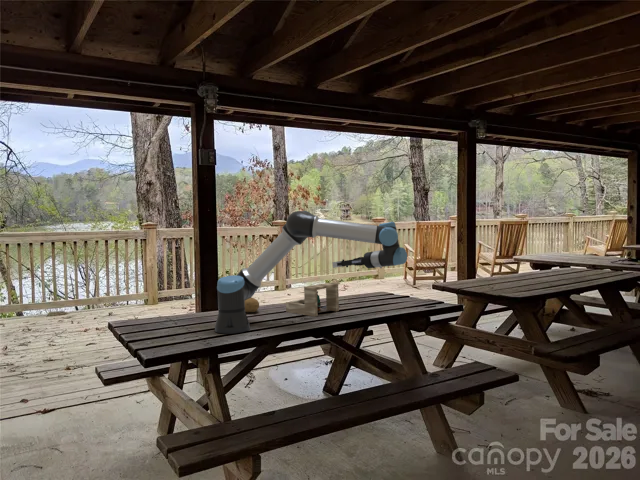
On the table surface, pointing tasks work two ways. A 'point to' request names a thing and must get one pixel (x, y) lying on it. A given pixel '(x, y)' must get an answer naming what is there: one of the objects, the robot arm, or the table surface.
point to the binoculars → (317, 302)
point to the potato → (251, 305)
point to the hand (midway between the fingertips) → (333, 264)
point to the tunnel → (315, 300)
